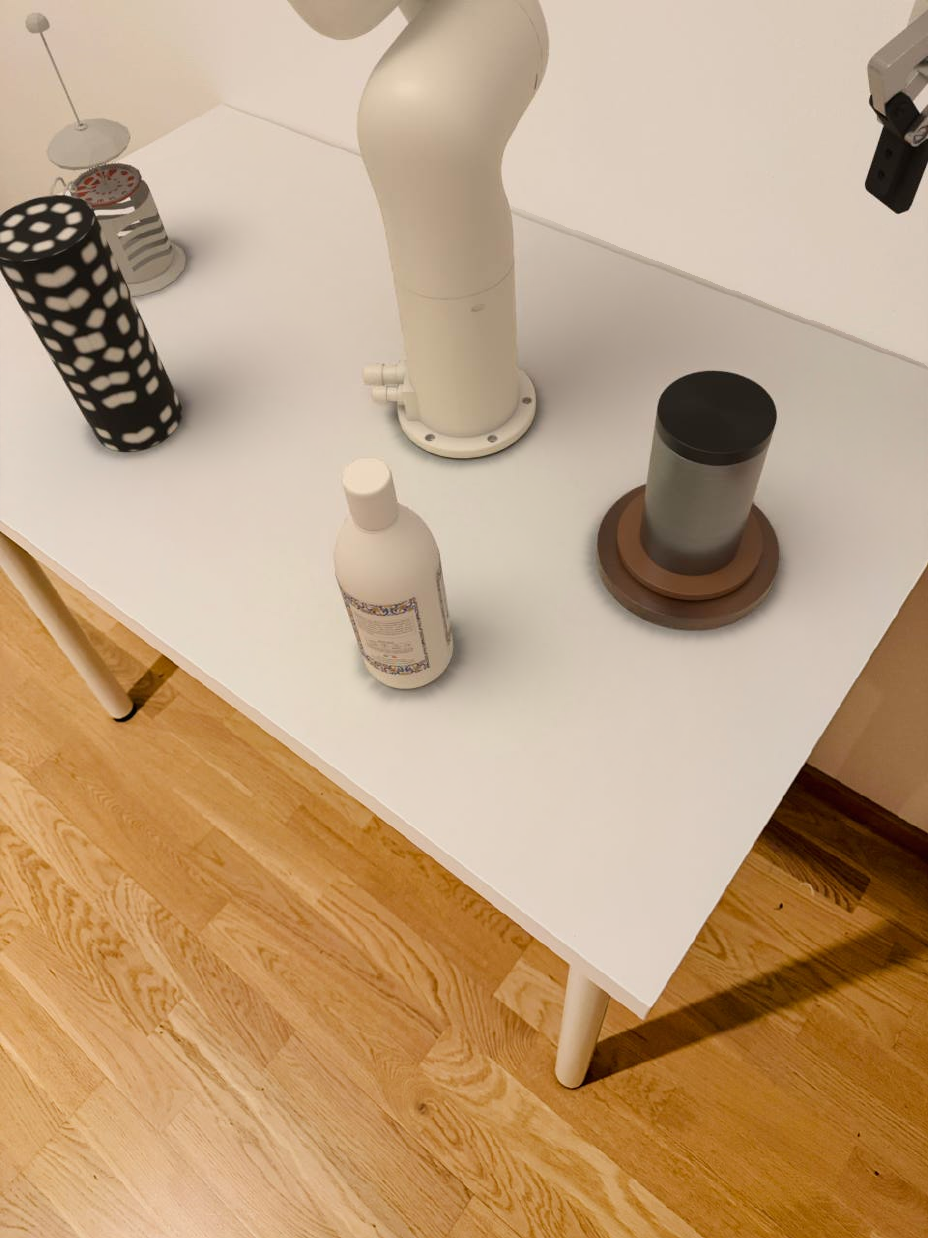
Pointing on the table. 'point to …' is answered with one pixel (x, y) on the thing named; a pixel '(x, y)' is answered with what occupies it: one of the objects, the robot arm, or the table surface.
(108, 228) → the french press
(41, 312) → the spotted tube
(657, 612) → the turntable base
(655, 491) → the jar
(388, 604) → the bath foam
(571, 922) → the table surface
